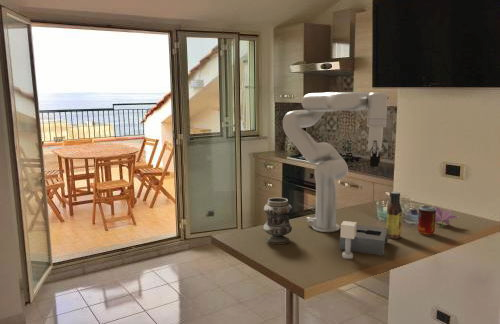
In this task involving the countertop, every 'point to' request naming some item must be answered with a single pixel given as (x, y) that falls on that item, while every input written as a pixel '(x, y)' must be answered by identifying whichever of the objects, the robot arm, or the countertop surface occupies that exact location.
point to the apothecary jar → (277, 220)
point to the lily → (444, 216)
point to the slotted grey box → (367, 240)
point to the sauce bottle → (394, 216)
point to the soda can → (426, 220)
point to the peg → (348, 237)
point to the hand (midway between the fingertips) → (375, 164)
